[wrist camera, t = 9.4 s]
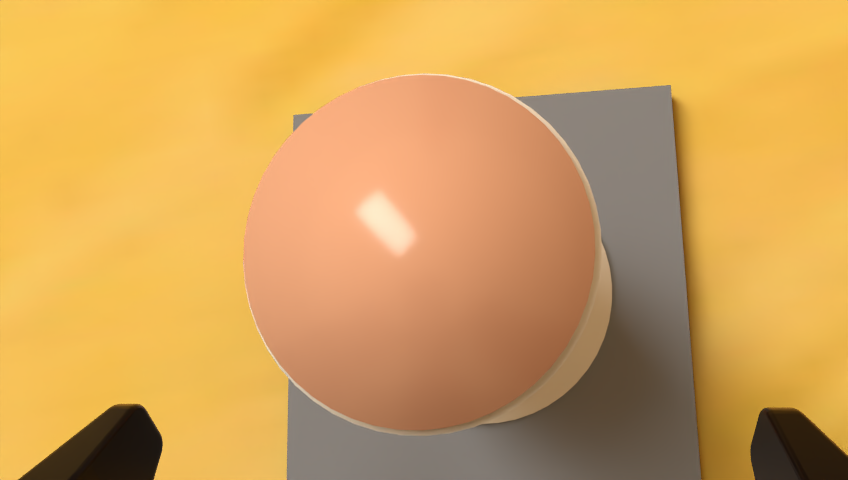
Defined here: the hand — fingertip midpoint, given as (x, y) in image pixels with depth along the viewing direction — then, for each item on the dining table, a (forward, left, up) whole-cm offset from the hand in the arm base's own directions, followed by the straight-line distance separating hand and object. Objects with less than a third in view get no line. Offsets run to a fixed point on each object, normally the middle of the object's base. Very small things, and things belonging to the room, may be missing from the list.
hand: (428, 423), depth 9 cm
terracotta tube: (+2, 0, -8) cm, 8 cm away
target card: (+3, 0, -9) cm, 9 cm away
